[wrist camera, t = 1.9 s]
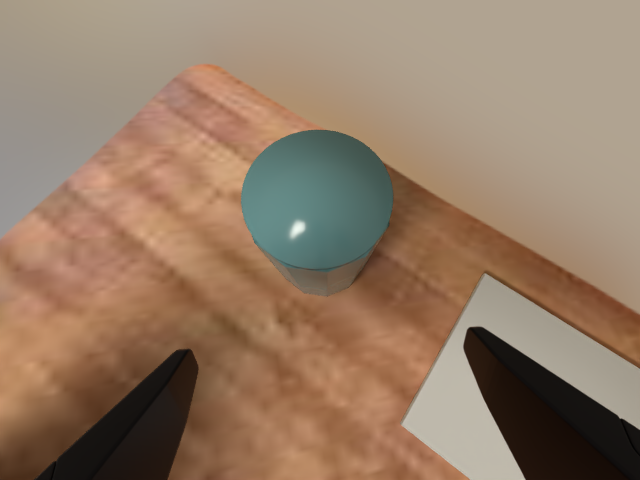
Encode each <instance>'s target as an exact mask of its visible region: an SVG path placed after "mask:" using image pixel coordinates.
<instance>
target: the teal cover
mask: <svg viewBox="0 0 640 480" xmlns="http://www.w3.org/2000/svg"><path fill="white" fill-rule="evenodd" d="M241 205H242V212H243V216H244V220H245V222H246V225H247V227H248V229H249V231H250V232H251V234H252V237H253V240H254V243H255V244H256V245H257V246H258V247H259V249H260V250H261V251H262V252H263V253H264V254H265V255H266V256H267V258H268V259H269V260H270V261H271V262H272V263H273V264H274V266H275V267H276V268H277V269H278V270H279V271H280V272H281V273H282V275H283V276H284V277H285V278H286V279H287V280H288V281H289V282H291V283H292V284H293V285H295V286H296V287H297V288H298V289H300V290H301V291H302V292H303V293H306V294H313V295H321V296H330V295H332V294H334V293H337V292H339V291H342V290H344V289H346V288H349V286H350V285H351V284H352V282H353V281H354V280H355V278H356V277H357V276H358V274H359V273H360V272H361V270H362V269H363V267H364V266H365V264H366V262H367V261H368V259H369V257H370V256H371V254H372V253H373V251H374V249H375V248H376V246H377V244H378V243H379V241H380V239H381V238H382V236H383V235H384V233H385V231H386V230H387V228H388V226H389V219H390V215H391V212H392V206H393V189H392V183H391V180H390V176H389V174H388V172H387V170H386V167H385V166H384V164H383V163H382V161H381V160H380V158H379V157H378V156H377V155H376V154H375V153H374V152H373V151H372V150H371V149H370V148H369V147H368V146H366V145H365V144H364V143H362V142H361V141H359V140H357V139H355V138H353V137H351V136H348V135H346V134H343V133H339V132H335V131H329V130H308V131H302V132H298V133H294V134H291V135H288V136H286V137H284V138H281V139H280V140H278V141H276V142H274V143H273V144H271V145H270V146H269V147H267V148H266V149H265V150H264V151H263V152H262V153H261V154H260V155H259V156H258V157H257V158H256V159H255V161H254V162H253V164H252V165H251V167H250V168H249V170H248V173H247V175H246V177H245V180H244V183H243V188H242V193H241Z"/></svg>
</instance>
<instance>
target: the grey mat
mask: <svg viewBox="0 0 640 480" xmlns="http://www.w3.org/2000/svg"><path fill="white" fill-rule="evenodd" d="M476 326H481V327H484V328H485V329H487V330H488V331H490V332H491V333H493V334H494V335H496V336H497V337H499V338H501V339H502V340H504V341H505V342H507V343H508V344H510V345H511V346H513V347H514V348H516V349H517V350H519V351H520V352H522V353H523V354H525V355H526V356H528V357H530V358H531V359H533V360H534V361H536V362H537V363H539V364H540V365H542V366H543V367H545V368H546V369H548V370H549V371H551V372H552V373H554V374H555V375H557V376H558V377H560V378H562V379H563V380H565V381H566V382H568V383H569V384H571V385H572V386H574V387H575V388H577V389H578V390H580V391H581V392H583V393H584V394H586V395H587V396H589V397H591V398H592V399H594V400H595V401H597V402H598V403H600V404H601V405H603V406H604V407H606V408H607V409H609V410H610V411H612V412H613V413H615V414H616V415H618V416H619V418H622V419H624V420H626V421H627V422H629V423H630V424H632V425H633V426H635V427H636V428H638V429H640V369H639V368H638V367H636V366H634V365H633V364H631V363H630V362H628V361H626V360H625V359H623V358H621V357H620V356H618V355H617V354H615V353H613V352H612V351H610V350H609V349H607V348H605V347H604V346H602V345H600V344H599V343H597V342H596V341H594V340H592V339H591V338H589V337H588V336H586V335H584V334H583V333H581V332H579V331H578V330H576V329H575V328H573V327H571V326H570V325H568V324H567V323H565V322H563V321H562V320H560V319H558V318H557V317H555V316H554V315H552V314H550V313H549V312H547V311H545V310H544V309H542V308H541V307H539V306H537V305H536V304H534V303H533V302H531V301H529V300H528V299H526V298H524V297H523V296H521V295H520V294H518V293H516V292H515V291H513V290H512V289H510V288H508V287H507V286H505V285H503V284H502V283H500V282H499V281H497V280H495V279H494V278H492V277H491V276H489V275H487V274H486V273H485V274H482V276H481V278H480V280H479V282H478V283H477V285H476V287H475V289H474V291H473V292H472V294H471V296H470V298H469V300H468V301H467V303H466V305H465V307H464V309H463V310H462V312H461V314H460V316H459V318H458V319H457V321H456V323H455V325H454V327H453V328H452V330H451V332H450V334H449V336H448V337H447V339H446V341H445V343H444V345H443V347H442V348H441V350H440V352H439V354H438V356H437V357H436V359H435V361H434V363H433V365H432V366H431V368H430V370H429V372H428V374H427V375H426V377H425V379H424V381H423V383H422V384H421V386H420V388H419V390H418V392H417V393H416V395H415V397H414V399H413V401H412V402H411V404H410V406H409V408H408V410H407V411H406V413H405V415H404V417H403V419H402V420H401V422H400V424H401V425H402V426H403V427H404V428H406V429H407V430H408V431H409V432H411V433H412V434H413V435H415V436H416V437H417V438H418V439H420V440H421V441H422V442H423V443H425V444H426V445H427V446H429V447H430V448H431V449H432V450H434V451H435V452H436V453H437V454H439V455H440V456H441V457H443V458H444V459H445V460H446V461H448V462H449V463H450V464H451V465H453V466H454V467H455V468H457V469H458V470H459V471H460V472H462V473H463V474H464V475H465V476H467V477H468V478H469V479H471V480H525V478H524V476H523V474H522V472H521V470H520V468H519V466H518V465H517V463H516V461H515V459H514V457H513V455H512V453H511V451H510V449H509V447H508V445H507V443H506V442H505V440H504V438H503V436H502V434H501V432H500V430H499V428H498V426H497V424H496V422H495V421H494V419H493V417H492V415H491V413H490V411H489V409H488V407H487V405H486V403H485V401H484V399H483V397H482V394H481V392H480V390H479V387H478V385H477V382H476V380H475V377H474V375H473V372H472V370H471V367H470V365H469V363H468V360H467V358H466V355H465V353H464V349H463V344H464V340H465V335H466V331H467V329H468V328H469V327H476Z"/></svg>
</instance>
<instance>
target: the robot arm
mask: <svg viewBox="0 0 640 480" xmlns="http://www.w3.org/2000/svg"><path fill="white" fill-rule="evenodd" d="M463 349H464V353H465V355H466V358H467V360H468V363H469V365H470V367H471V370H472V372H473V375H474V377H475V380H476V382H477V385H478V387H479V390H480V392H481V394H482V397H483V399H484V401H485V403H486V405H487V407H488V409H489V411H490V413H491V415H492V417H493V419H494V421H495V422H496V424H497V426H498V428H499V430H500V432H501V434H502V436H503V438H504V440H505V442H506V443H507V445H508V447H509V449H510V451H511V453H512V455H513V457H514V459H515V461H516V463H517V465H518V466H519V468H520V470H521V472H522V474H523V476H524V478H525V480H640V429H638V428H636V427H635V426H633V425H632V424H630V423H629V422H627V421H626V420H624V419H622V418H619V416H618V415H616V414H615V413H613V412H612V411H610V410H609V409H607V408H606V407H604V406H603V405H601V404H600V403H598V402H597V401H595V400H594V399H592V398H591V397H589V396H587V395H586V394H584V393H583V392H581V391H580V390H578V389H577V388H575V387H574V386H572V385H571V384H569V383H568V382H566V381H565V380H563V379H562V378H560V377H558V376H557V375H555V374H554V373H552V372H551V371H549V370H548V369H546V368H545V367H543V366H542V365H540V364H539V363H537V362H536V361H534V360H533V359H531V358H530V357H528V356H526V355H525V354H523V353H522V352H520V351H519V350H517V349H516V348H514V347H513V346H511V345H510V344H508V343H507V342H505V341H504V340H502V339H501V338H499V337H497V336H496V335H494V334H493V333H491V332H490V331H488V330H487V329H485V328H484V327H481V326H476V327H469V328H468V329H467V331H466V335H465V340H464V344H463ZM197 375H198V364H197V361H196V359H195V356H194V354H193V352H192V350H191V349H178V350H176V351H175V352H174V353H173V354H172V355H170V356H169V357H168V358H167V359H166V360H165V361H164V362H163V363H162V364H161V365H159V366H158V367H157V368H156V369H155V370H154V371H153V372H152V373H151V374H150V375H148V376H147V377H146V378H145V379H144V380H143V381H142V382H141V383H140V384H139V385H138V386H136V387H135V388H134V389H133V390H132V391H131V392H130V393H129V394H128V395H127V396H125V397H124V398H123V399H122V400H121V401H120V402H119V403H118V404H117V405H116V406H114V407H113V408H112V409H111V410H110V411H109V412H108V413H107V414H106V415H105V416H103V417H102V418H101V419H100V420H99V421H98V422H97V423H96V424H95V425H94V426H92V427H91V428H90V429H89V430H88V431H87V432H86V433H85V434H84V435H83V436H81V437H80V438H79V439H78V440H77V441H76V442H75V443H74V444H73V445H72V446H70V447H69V448H68V449H67V450H66V451H65V452H64V453H63V454H62V455H61V456H59V457H58V459H57V461H54V462H53V463H52V464H51V465H49V466H48V467H47V468H46V469H45V470H44V471H43V472H42V473H41V474H40V475H38V476H37V477H36V478H35V479H34V480H167V479H168V476H169V473H170V470H171V467H172V464H173V461H174V458H175V455H176V452H177V449H178V446H179V443H180V440H181V437H182V434H183V431H184V428H185V425H186V422H187V418H188V414H189V410H190V405H191V401H192V397H193V392H194V388H195V384H196V379H197Z"/></svg>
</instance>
